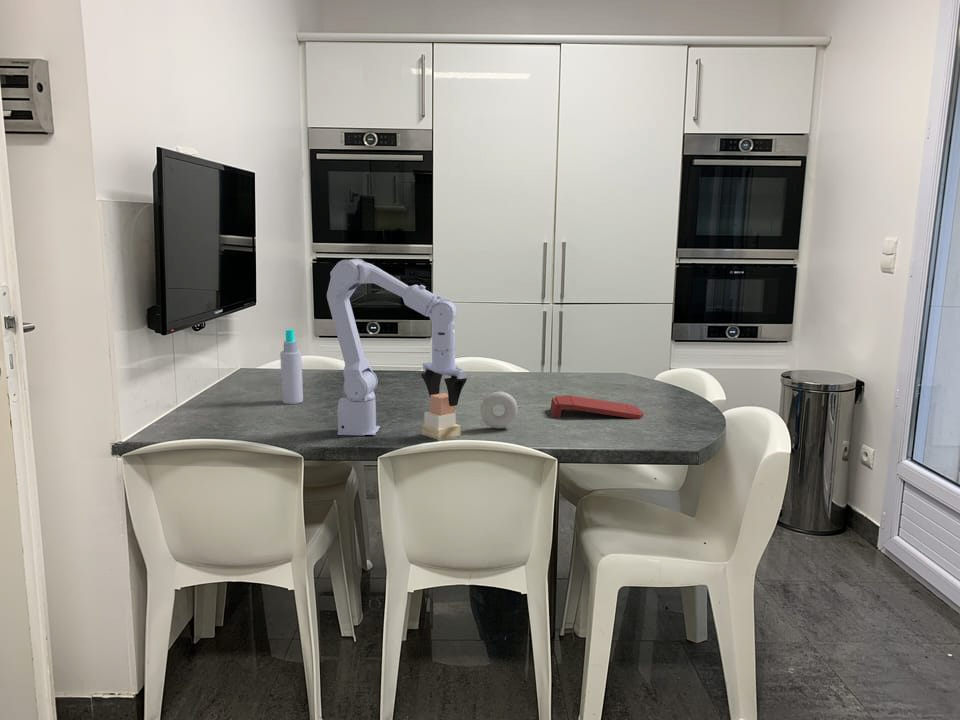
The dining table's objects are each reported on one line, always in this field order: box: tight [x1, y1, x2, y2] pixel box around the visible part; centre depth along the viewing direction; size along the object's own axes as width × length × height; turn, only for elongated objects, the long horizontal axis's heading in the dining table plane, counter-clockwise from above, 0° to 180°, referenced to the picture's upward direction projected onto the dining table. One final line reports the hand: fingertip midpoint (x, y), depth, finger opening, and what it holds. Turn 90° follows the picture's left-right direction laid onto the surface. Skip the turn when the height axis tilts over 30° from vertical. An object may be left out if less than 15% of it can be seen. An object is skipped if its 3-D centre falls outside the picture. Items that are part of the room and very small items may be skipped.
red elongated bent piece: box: [549, 394, 644, 420], centre depth 208 cm, size 12×5×25 cm
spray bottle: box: [279, 328, 304, 405], centre depth 218 cm, size 6×6×22 cm
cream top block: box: [423, 410, 457, 429], centre depth 184 cm, size 6×6×3 cm
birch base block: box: [421, 423, 462, 441], centre depth 185 cm, size 7×7×3 cm
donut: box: [479, 391, 519, 430], centre depth 191 cm, size 10×4×10 cm, turn 96°
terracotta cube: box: [429, 392, 456, 416], centre depth 184 cm, size 4×4×4 cm
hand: (443, 402), depth 183 cm, fingers open, 7 cm apart
